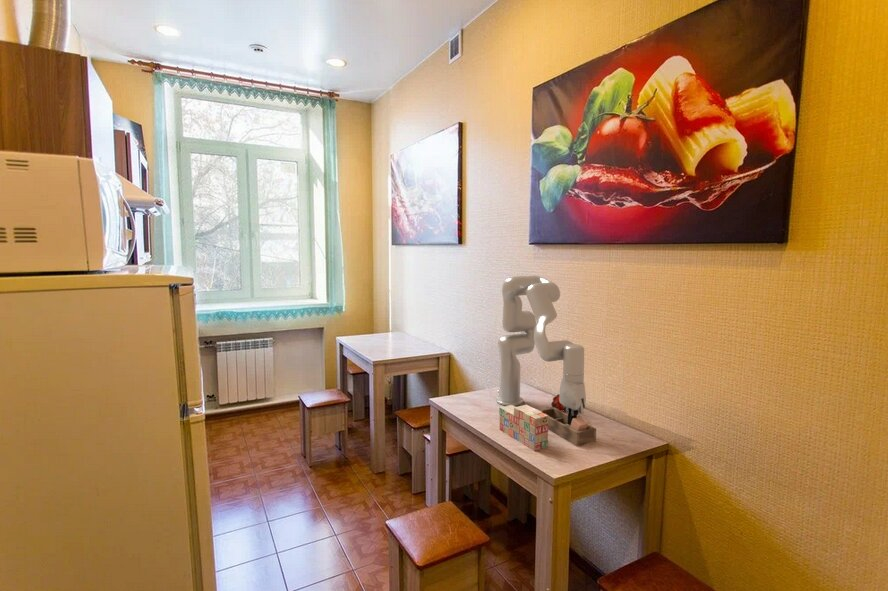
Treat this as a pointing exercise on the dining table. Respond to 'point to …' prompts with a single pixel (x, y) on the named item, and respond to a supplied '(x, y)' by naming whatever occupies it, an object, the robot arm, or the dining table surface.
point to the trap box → (568, 428)
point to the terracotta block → (578, 424)
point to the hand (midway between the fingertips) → (572, 424)
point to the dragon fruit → (558, 404)
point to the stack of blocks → (525, 425)
